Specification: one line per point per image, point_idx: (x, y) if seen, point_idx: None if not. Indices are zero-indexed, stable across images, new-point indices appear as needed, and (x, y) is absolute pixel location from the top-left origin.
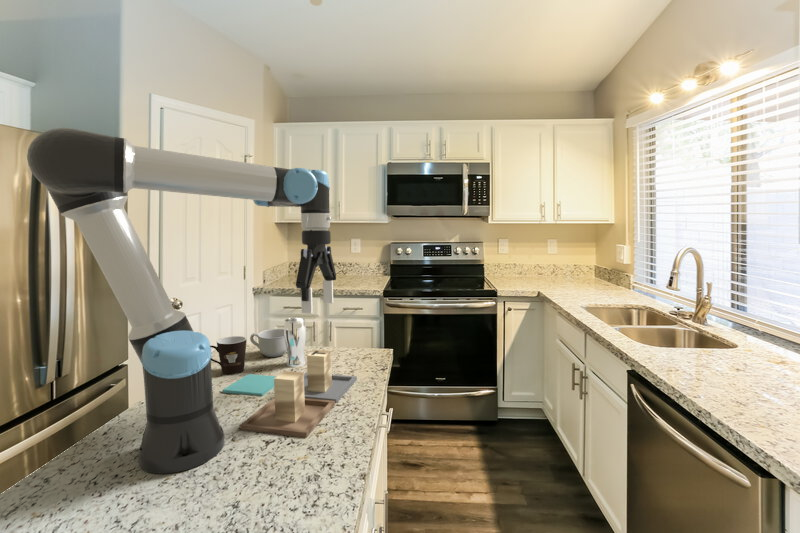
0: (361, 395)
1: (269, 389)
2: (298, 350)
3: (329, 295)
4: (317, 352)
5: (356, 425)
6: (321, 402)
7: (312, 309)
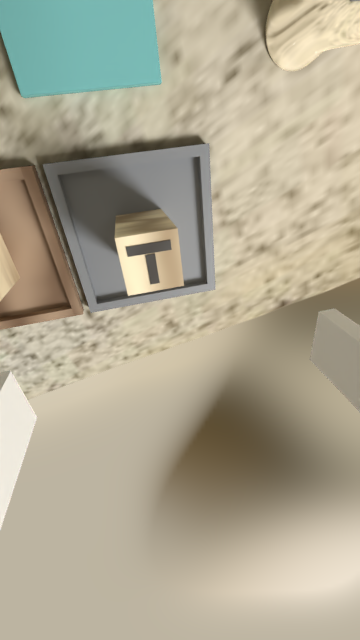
0: (146, 328)
1: (65, 92)
2: (308, 37)
3: (346, 379)
4: (154, 255)
5: (40, 373)
6: (66, 291)
7: (28, 436)
